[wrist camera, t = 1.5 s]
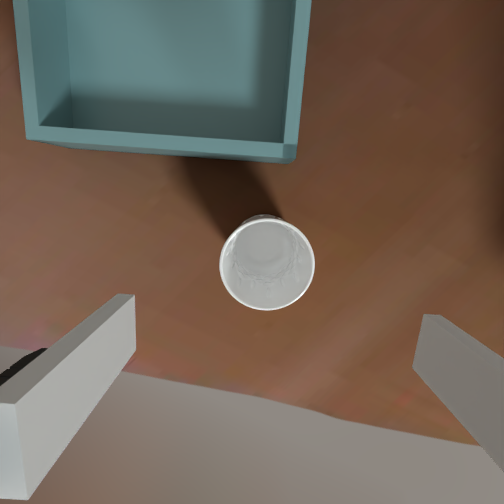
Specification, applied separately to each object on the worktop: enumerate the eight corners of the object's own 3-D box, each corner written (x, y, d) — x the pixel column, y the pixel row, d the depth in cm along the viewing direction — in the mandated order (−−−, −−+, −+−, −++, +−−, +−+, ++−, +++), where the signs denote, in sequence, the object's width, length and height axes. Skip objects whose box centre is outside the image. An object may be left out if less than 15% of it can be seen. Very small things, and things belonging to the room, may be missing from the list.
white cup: (233, 204, 32) (224, 212, 23) (302, 213, 33) (322, 225, 23) (226, 270, 34) (214, 304, 24) (291, 279, 34) (306, 315, 25)
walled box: (309, -58, 27) (323, -125, 21) (288, 163, 31) (295, 158, 26) (53, -77, 27) (-3, -150, 21) (69, 148, 31) (26, 139, 25)
